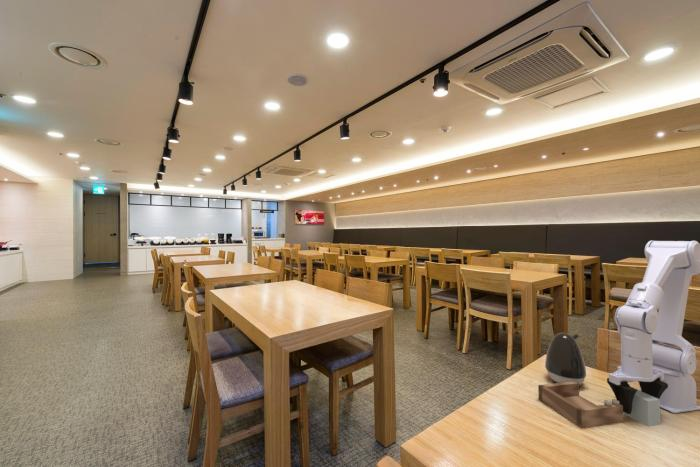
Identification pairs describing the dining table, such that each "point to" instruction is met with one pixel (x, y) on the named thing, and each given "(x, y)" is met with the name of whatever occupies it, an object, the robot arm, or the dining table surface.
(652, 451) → the dining table surface
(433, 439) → the dining table surface
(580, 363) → the dark egg-shaped dome
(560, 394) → the wooden rimmed tray
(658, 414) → the grey block
